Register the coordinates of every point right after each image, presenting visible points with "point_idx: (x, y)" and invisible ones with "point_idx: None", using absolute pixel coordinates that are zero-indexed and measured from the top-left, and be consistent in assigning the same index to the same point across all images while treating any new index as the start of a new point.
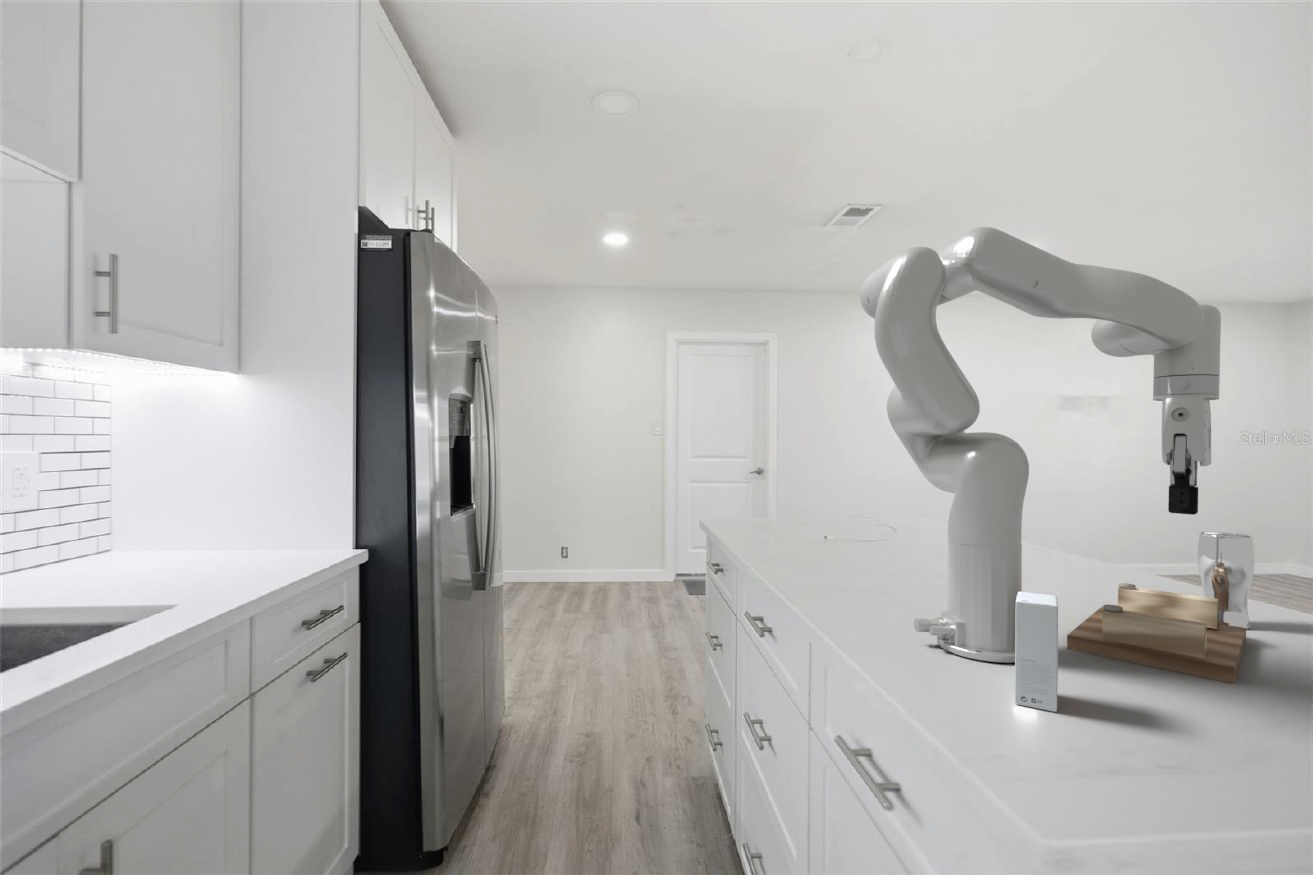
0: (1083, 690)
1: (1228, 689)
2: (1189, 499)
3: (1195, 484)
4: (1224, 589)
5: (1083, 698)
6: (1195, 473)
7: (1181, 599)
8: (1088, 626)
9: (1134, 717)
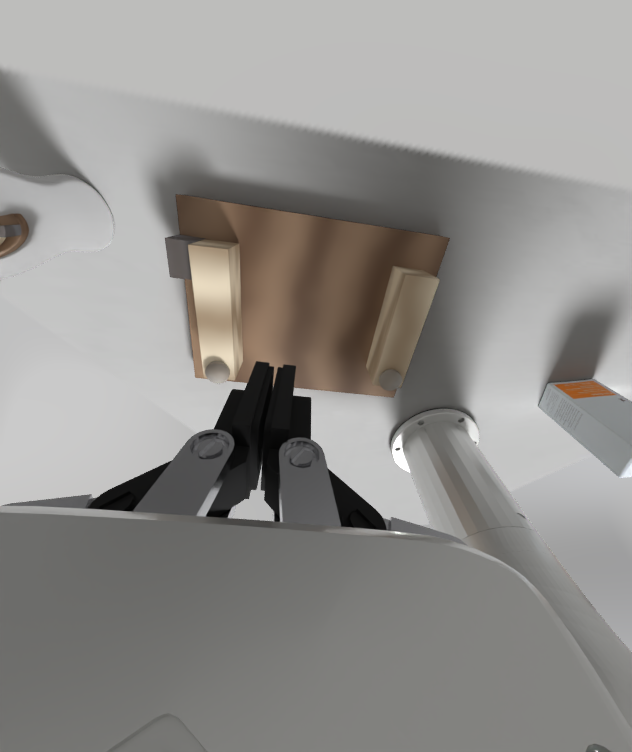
0: (525, 366)
1: (467, 245)
2: (297, 412)
3: (233, 442)
4: (60, 223)
5: (548, 365)
6: (210, 497)
7: (231, 300)
8: (336, 383)
9: (588, 329)
